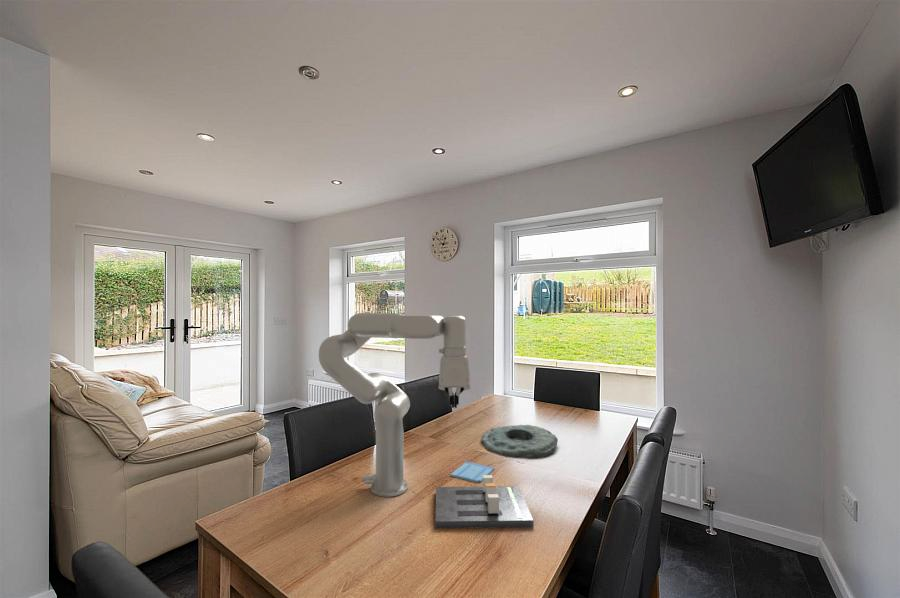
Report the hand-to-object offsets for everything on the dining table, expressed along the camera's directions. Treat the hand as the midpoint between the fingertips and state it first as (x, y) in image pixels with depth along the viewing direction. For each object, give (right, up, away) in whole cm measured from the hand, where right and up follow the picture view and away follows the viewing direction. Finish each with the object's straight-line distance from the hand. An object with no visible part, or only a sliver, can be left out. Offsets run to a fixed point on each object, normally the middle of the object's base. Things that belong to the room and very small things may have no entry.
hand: (454, 406), depth 132 cm
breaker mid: (+11, -26, -10) cm, 30 cm away
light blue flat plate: (+7, -30, +16) cm, 35 cm away
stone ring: (+30, -31, +48) cm, 64 cm away
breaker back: (+11, -27, -4) cm, 29 cm away
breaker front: (+11, -26, -17) cm, 33 cm away
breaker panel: (+8, -29, -10) cm, 32 cm away
